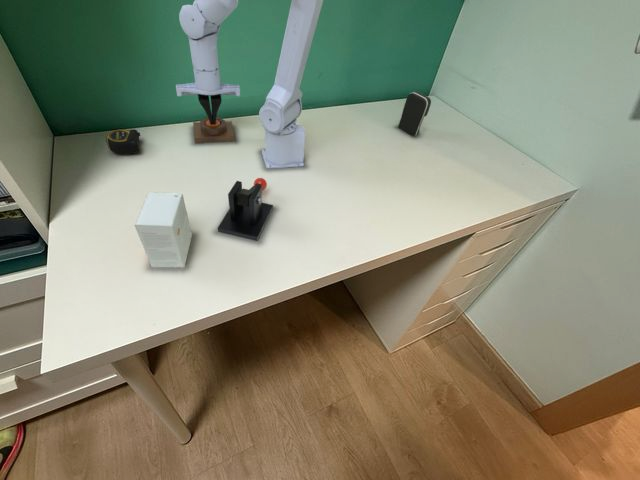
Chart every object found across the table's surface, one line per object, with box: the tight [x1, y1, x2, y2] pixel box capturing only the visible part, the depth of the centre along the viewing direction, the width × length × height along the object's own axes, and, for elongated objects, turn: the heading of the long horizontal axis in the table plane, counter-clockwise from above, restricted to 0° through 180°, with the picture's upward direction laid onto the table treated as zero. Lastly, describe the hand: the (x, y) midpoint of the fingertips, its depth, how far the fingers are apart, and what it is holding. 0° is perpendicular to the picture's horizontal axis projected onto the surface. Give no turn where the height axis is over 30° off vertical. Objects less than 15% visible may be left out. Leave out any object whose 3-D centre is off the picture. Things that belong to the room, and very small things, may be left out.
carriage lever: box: [237, 177, 268, 207], centre depth 67 cm, size 12×3×3 cm, turn 168°
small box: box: [134, 191, 193, 268], centre depth 55 cm, size 8×6×10 cm
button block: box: [192, 116, 236, 145], centre depth 86 cm, size 10×8×4 cm
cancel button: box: [206, 120, 220, 127], centre depth 85 cm, size 4×4×2 cm
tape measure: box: [105, 129, 141, 155], centre depth 77 cm, size 7×7×4 cm
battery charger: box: [397, 91, 432, 137], centre depth 98 cm, size 7×4×11 cm, turn 41°
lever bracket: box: [217, 180, 274, 242], centre depth 64 cm, size 10×8×8 cm
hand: (212, 122), depth 85 cm, fingers closed, pressing on cancel button
